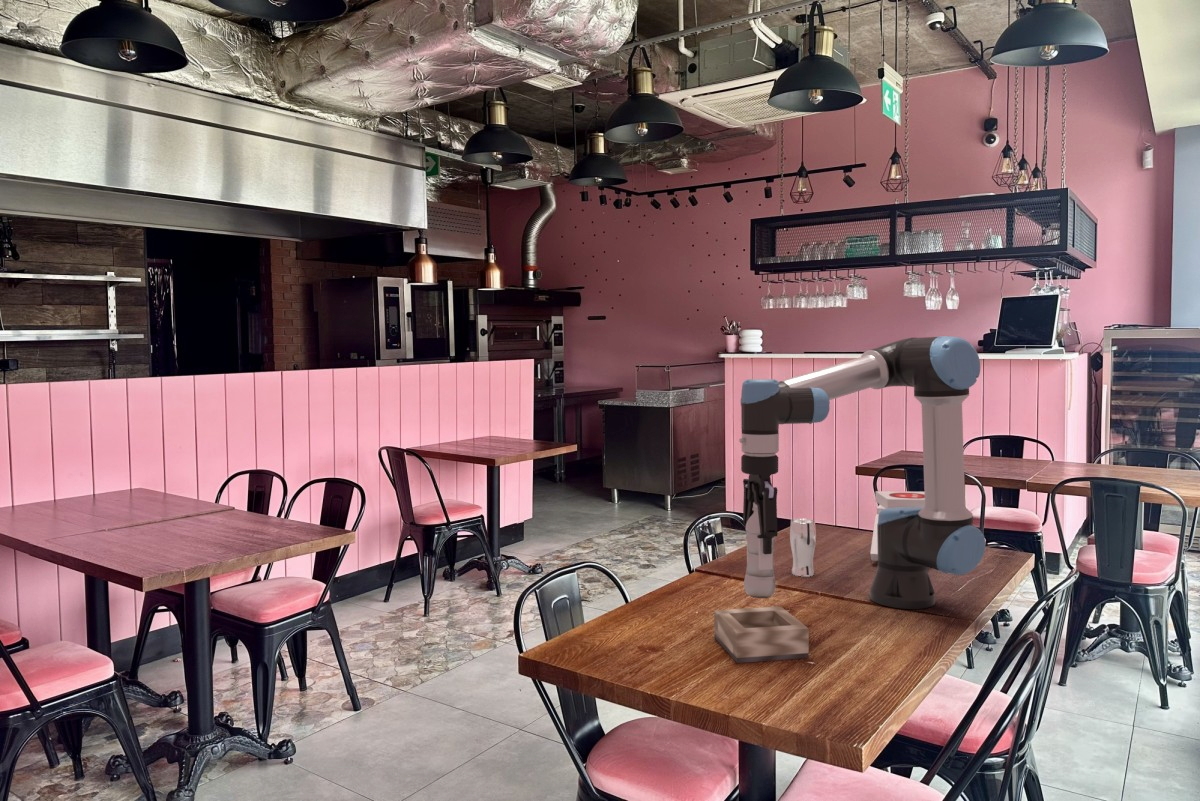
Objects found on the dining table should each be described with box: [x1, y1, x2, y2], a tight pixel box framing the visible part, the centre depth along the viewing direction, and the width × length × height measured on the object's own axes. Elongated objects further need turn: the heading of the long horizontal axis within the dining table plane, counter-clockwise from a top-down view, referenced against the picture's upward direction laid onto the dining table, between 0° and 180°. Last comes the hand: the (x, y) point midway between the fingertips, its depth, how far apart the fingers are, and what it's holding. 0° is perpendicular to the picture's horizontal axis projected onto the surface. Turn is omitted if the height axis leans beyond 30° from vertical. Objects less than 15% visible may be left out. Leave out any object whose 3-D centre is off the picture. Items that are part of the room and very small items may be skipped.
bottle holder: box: [713, 605, 810, 664], centre depth 172 cm, size 15×15×6 cm
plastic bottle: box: [743, 501, 777, 599], centre depth 171 cm, size 6×7×20 cm
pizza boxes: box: [869, 490, 925, 562], centre depth 246 cm, size 19×30×18 cm, turn 154°
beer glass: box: [789, 518, 817, 578], centre depth 229 cm, size 7×7×15 cm
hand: (759, 564), depth 171 cm, fingers closed on plastic bottle, 6 cm apart
